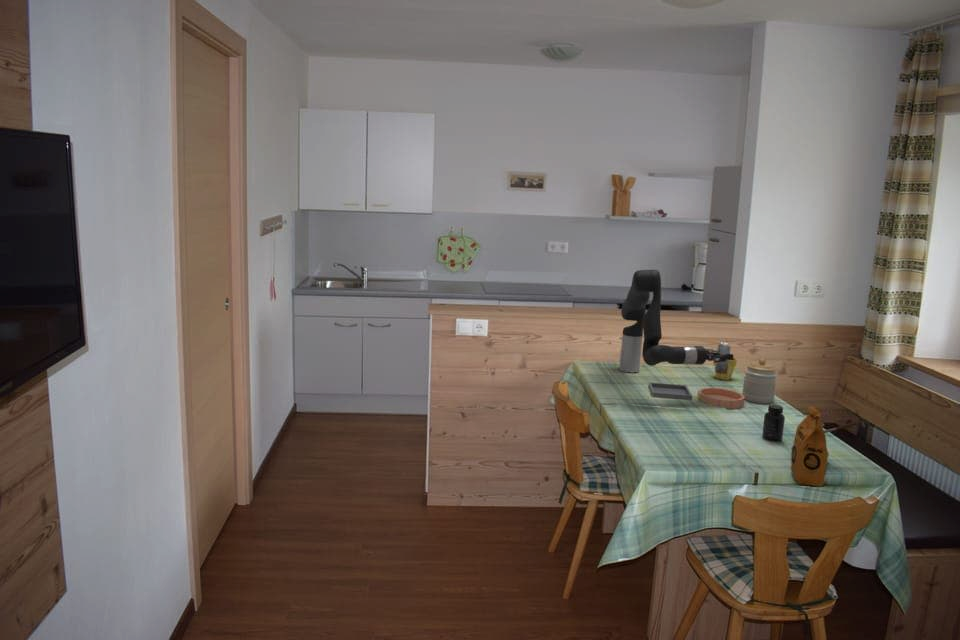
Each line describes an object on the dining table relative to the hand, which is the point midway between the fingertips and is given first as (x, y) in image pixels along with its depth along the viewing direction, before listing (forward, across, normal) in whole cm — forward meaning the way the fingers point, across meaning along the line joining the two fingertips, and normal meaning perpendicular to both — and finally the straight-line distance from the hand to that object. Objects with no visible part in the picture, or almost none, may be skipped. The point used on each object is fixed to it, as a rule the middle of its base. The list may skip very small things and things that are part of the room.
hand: (728, 355), depth 311 cm
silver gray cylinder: (-3, 0, +7) cm, 8 cm away
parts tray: (-18, +11, +20) cm, 29 cm away
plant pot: (+21, +35, +20) cm, 46 cm away
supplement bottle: (-7, -43, +20) cm, 48 cm away
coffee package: (-19, -78, +20) cm, 83 cm away
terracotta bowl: (-1, 0, +20) cm, 20 cm away
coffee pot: (-2, -65, +20) cm, 68 cm away
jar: (+18, +2, +20) cm, 27 cm away
